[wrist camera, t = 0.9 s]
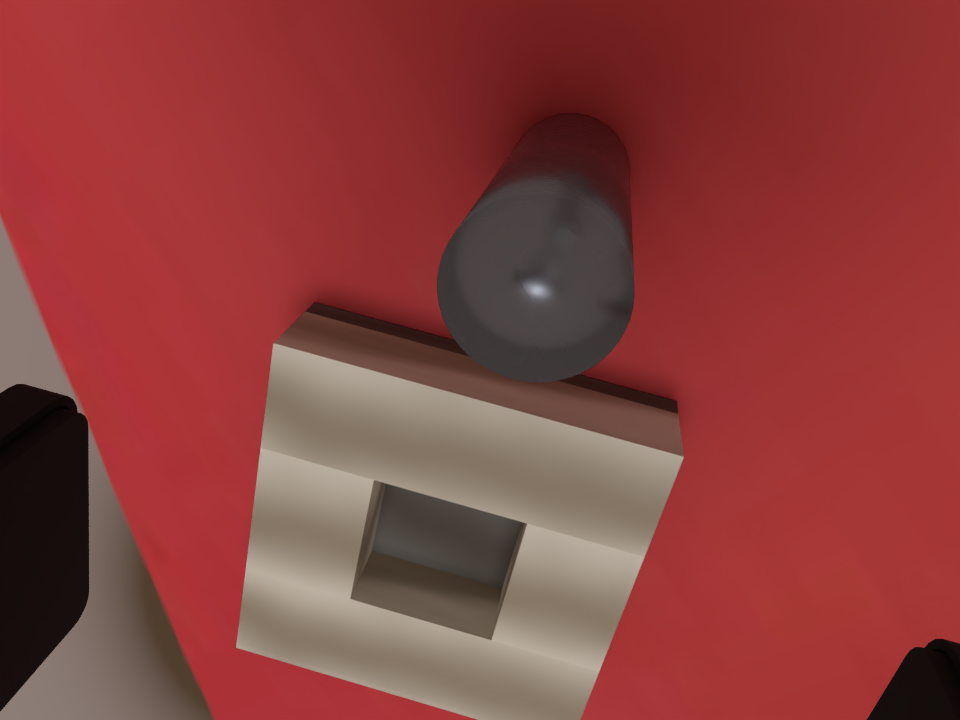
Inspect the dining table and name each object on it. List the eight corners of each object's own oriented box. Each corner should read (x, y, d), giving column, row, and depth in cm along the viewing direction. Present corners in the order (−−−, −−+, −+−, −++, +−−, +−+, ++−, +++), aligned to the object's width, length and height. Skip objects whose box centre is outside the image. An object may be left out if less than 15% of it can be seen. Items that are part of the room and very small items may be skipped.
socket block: (314, 302, 31) (273, 343, 27) (676, 401, 30) (683, 456, 26) (274, 583, 37) (236, 647, 33) (574, 671, 36) (569, 746, 32)
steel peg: (526, 99, 27) (459, 171, 16) (645, 130, 26) (661, 224, 16) (498, 216, 28) (420, 353, 17) (610, 246, 28) (601, 403, 17)
